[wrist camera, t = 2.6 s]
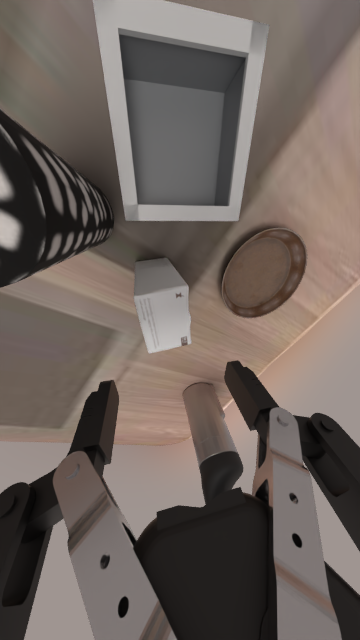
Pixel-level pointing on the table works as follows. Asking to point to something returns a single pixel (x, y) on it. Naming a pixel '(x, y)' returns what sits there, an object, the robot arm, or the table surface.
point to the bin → (180, 106)
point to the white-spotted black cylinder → (43, 206)
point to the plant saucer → (264, 272)
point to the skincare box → (162, 305)
